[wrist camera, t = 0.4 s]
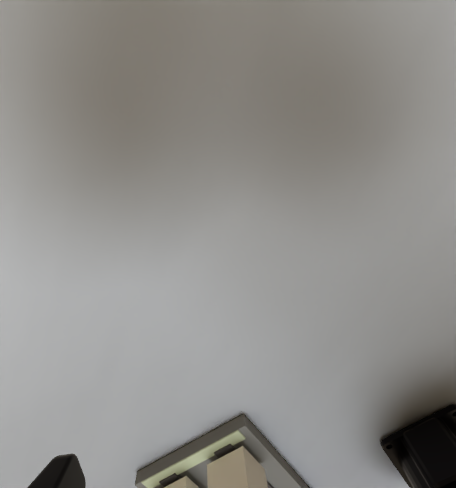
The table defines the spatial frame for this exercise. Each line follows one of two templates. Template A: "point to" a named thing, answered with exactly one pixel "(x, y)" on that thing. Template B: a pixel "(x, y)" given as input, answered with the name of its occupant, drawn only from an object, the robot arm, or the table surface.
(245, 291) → the table surface
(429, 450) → the robot arm
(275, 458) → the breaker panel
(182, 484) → the toggle
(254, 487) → the toggle
